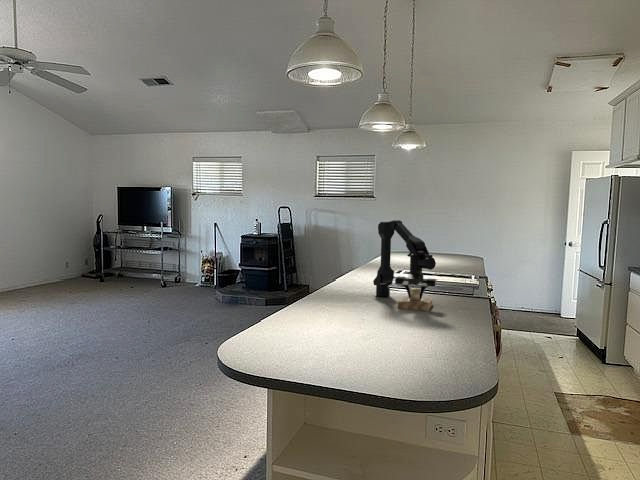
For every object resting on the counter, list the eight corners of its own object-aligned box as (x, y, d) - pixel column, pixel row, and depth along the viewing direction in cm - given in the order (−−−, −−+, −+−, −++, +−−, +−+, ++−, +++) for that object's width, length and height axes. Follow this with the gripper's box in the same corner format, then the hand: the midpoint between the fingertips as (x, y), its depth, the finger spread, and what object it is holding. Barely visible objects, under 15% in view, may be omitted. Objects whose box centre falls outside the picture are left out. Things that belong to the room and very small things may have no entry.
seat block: (397, 308, 212) (397, 301, 212) (403, 302, 225) (403, 296, 225) (427, 311, 207) (428, 304, 207) (432, 304, 220) (432, 298, 220)
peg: (409, 307, 214) (409, 289, 214) (411, 304, 219) (411, 287, 218) (419, 307, 213) (419, 290, 212) (420, 305, 217) (421, 288, 216)
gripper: (393, 268, 210) (392, 300, 211) (434, 270, 203) (433, 304, 205) (397, 264, 220) (397, 296, 222) (437, 267, 214) (436, 299, 215)
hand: (415, 299), depth 216 cm, fingers closed on peg, 5 cm apart
